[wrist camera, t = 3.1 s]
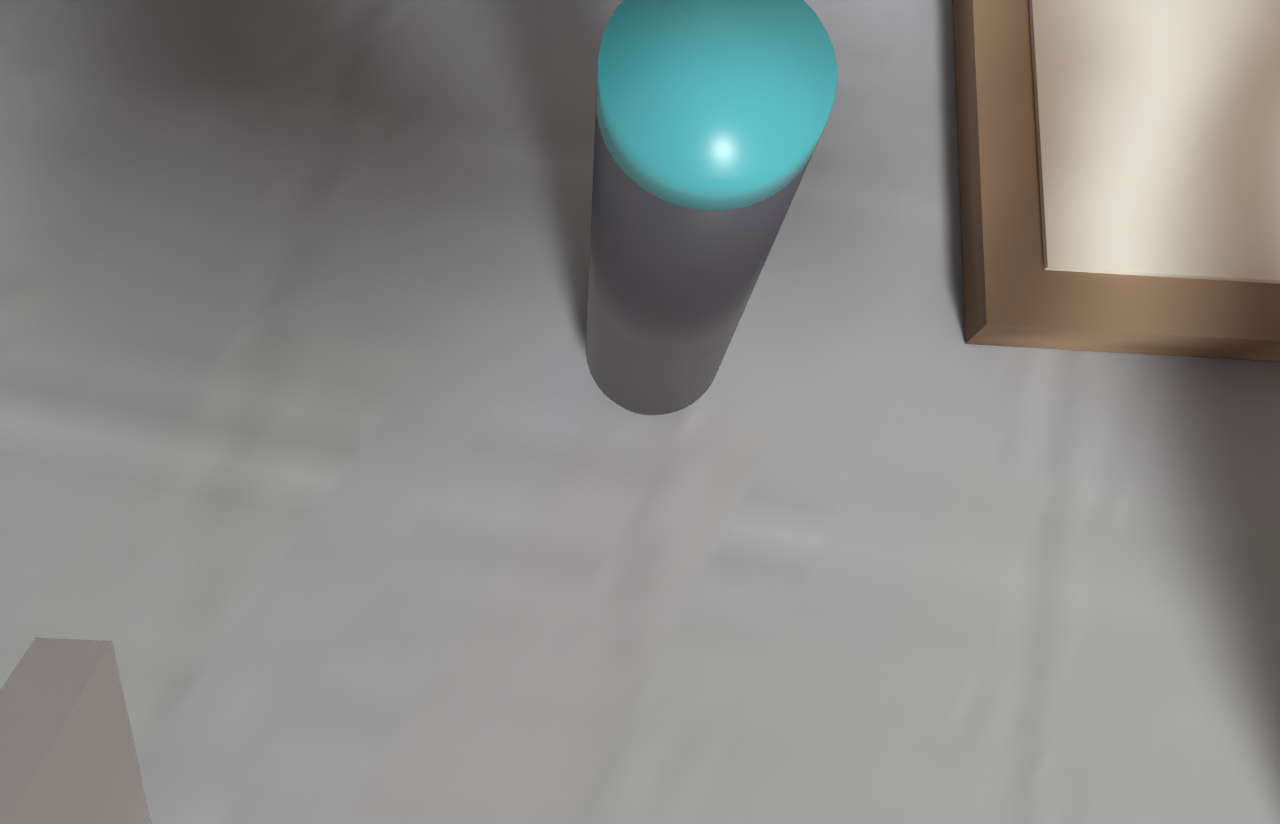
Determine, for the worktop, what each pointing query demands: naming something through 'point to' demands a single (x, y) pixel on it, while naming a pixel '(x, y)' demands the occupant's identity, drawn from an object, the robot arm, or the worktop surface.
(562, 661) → the worktop surface
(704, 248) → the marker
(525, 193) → the worktop surface
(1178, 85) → the writing board
